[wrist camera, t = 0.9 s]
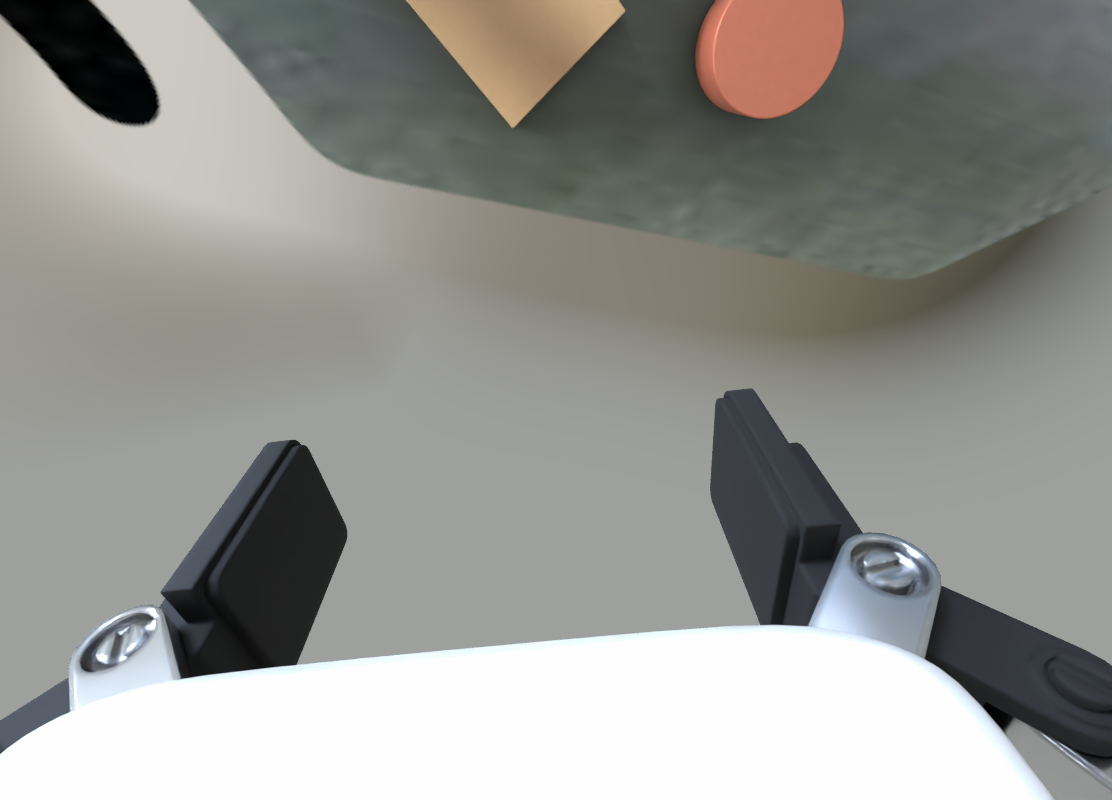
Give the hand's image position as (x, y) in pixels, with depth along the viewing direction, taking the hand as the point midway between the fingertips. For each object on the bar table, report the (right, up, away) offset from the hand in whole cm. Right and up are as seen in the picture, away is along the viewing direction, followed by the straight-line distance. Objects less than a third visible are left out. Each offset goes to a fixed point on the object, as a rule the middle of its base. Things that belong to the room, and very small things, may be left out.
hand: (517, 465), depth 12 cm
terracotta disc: (+12, +21, +17) cm, 29 cm away
